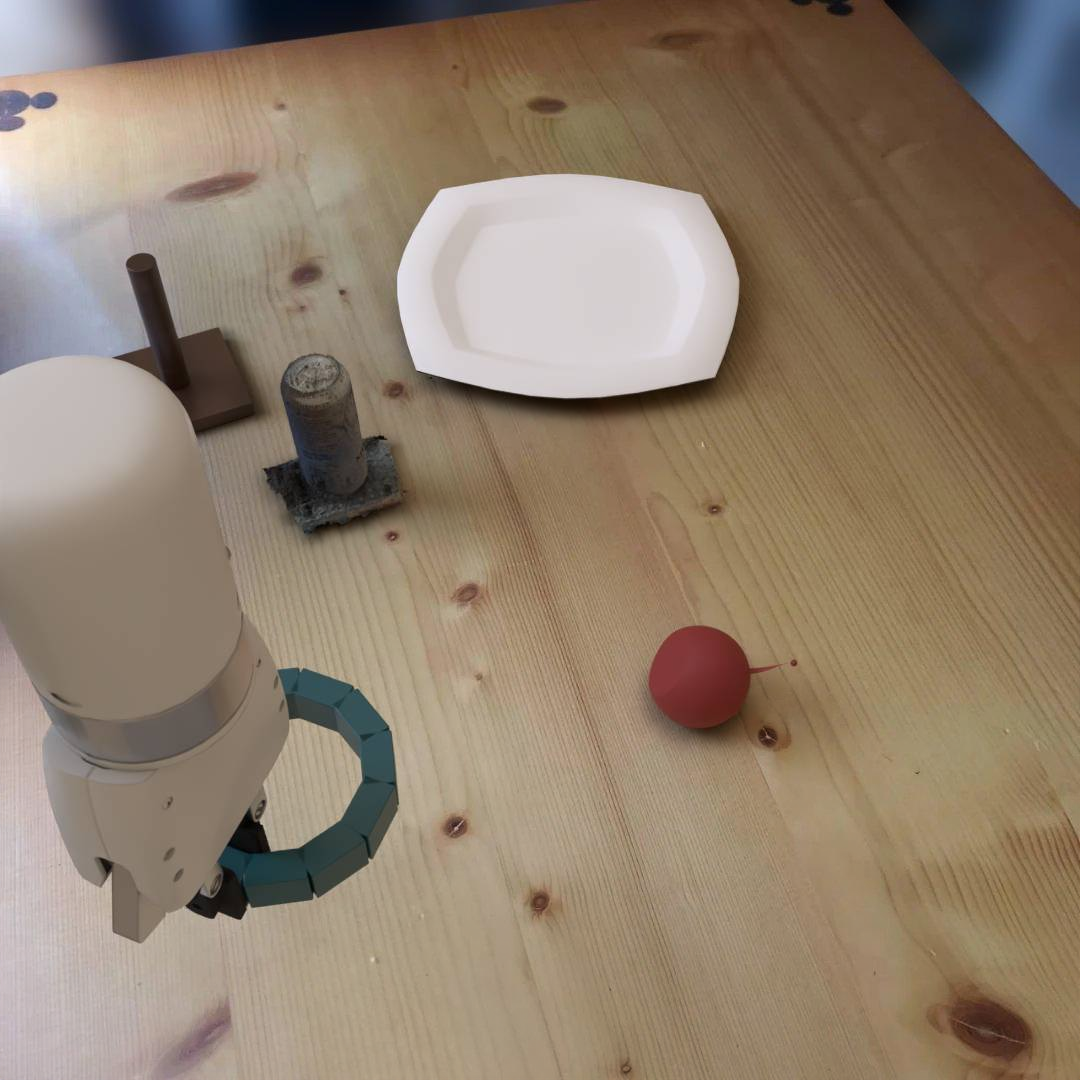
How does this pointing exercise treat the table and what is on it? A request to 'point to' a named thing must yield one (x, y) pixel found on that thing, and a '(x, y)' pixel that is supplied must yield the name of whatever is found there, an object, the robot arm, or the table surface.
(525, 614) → the table surface
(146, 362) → the post
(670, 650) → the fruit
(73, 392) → the robot arm
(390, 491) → the can on ragged base
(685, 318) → the plate
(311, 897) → the ring
